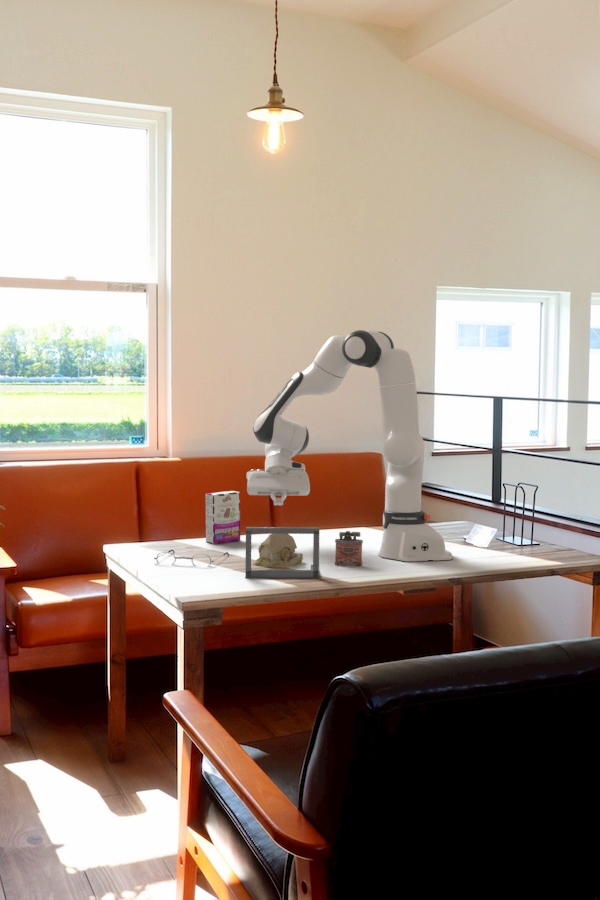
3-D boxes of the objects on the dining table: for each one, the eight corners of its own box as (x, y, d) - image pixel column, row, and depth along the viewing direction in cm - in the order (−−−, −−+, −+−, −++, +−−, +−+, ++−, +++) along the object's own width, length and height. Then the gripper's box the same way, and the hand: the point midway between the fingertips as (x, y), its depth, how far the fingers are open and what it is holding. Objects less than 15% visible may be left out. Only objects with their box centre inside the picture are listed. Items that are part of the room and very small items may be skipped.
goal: (316, 569, 265) (316, 522, 264) (318, 578, 254) (319, 528, 253) (245, 569, 264) (246, 521, 262) (245, 577, 253) (245, 527, 252)
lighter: (334, 565, 271) (334, 531, 270) (335, 563, 274) (335, 529, 273) (361, 566, 270) (362, 532, 269) (362, 564, 273) (363, 530, 272)
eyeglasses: (153, 565, 270) (153, 552, 270) (173, 555, 288) (173, 542, 288) (213, 568, 267) (213, 554, 266) (229, 558, 285) (230, 545, 285)
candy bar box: (231, 538, 313) (232, 490, 312) (240, 540, 310) (241, 491, 308) (204, 542, 306) (204, 492, 305) (213, 544, 302) (213, 494, 301)
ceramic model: (270, 569, 264) (270, 535, 264) (247, 563, 273) (247, 529, 272) (308, 564, 273) (308, 530, 272) (285, 558, 282) (285, 525, 281)
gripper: (246, 463, 300) (245, 497, 291) (309, 464, 301) (310, 498, 292) (246, 475, 305) (245, 509, 296) (308, 476, 306) (309, 510, 297)
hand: (278, 504), depth 294 cm, fingers closed
